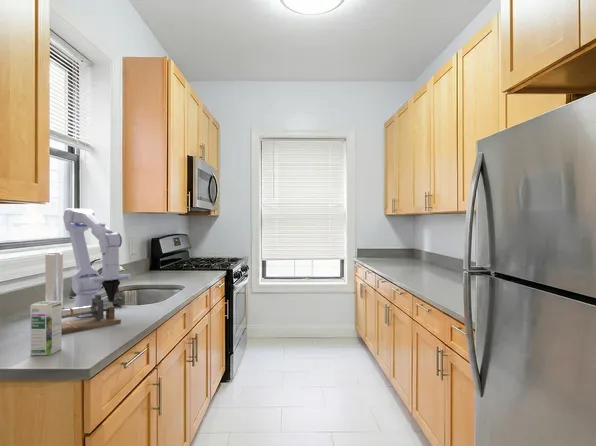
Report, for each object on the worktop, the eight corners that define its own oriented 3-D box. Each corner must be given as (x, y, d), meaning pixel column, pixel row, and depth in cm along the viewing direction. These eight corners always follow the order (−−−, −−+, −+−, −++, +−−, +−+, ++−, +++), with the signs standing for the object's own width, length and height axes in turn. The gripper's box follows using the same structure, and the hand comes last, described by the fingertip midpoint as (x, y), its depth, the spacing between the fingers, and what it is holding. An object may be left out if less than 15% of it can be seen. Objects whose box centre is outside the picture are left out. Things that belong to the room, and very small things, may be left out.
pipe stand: (43, 329, 135) (43, 309, 135) (108, 317, 151) (108, 299, 151) (53, 335, 127) (52, 314, 127) (120, 322, 143) (120, 303, 143)
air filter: (53, 307, 170) (53, 251, 170) (66, 307, 169) (66, 251, 169) (42, 310, 164) (41, 252, 164) (55, 311, 163) (55, 252, 163)
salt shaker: (116, 308, 168) (116, 280, 168) (104, 307, 169) (104, 280, 169) (125, 305, 174) (124, 278, 174) (113, 304, 175) (113, 278, 175)
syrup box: (29, 356, 108) (29, 304, 108) (43, 349, 114) (42, 300, 114) (49, 355, 108) (49, 304, 108) (62, 348, 114) (62, 300, 114)
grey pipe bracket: (92, 316, 144) (91, 294, 144) (96, 315, 146) (96, 293, 146) (98, 319, 140) (98, 296, 140) (103, 319, 141) (103, 296, 141)
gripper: (94, 267, 138) (94, 304, 138) (134, 263, 149) (134, 298, 149) (87, 265, 143) (87, 301, 143) (126, 262, 153) (126, 296, 154)
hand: (110, 300), depth 146 cm, fingers closed
